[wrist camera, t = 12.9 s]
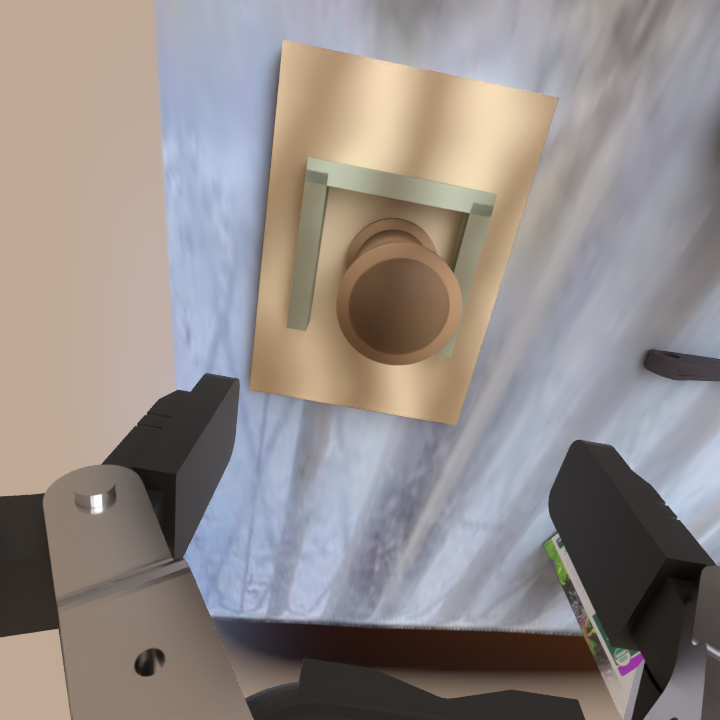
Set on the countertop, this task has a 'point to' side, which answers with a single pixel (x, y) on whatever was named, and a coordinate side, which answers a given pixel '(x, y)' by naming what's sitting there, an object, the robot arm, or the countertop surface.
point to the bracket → (683, 366)
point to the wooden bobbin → (397, 294)
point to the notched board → (386, 216)
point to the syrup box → (595, 629)
